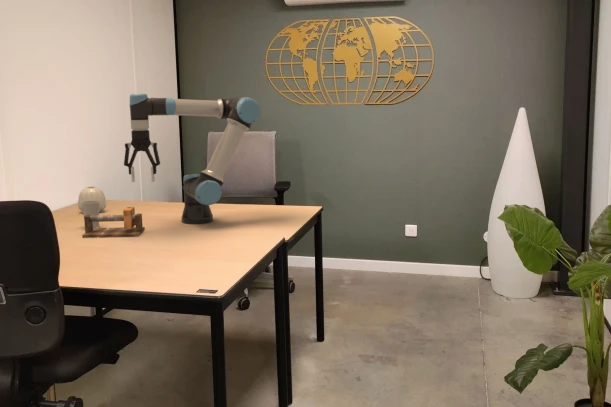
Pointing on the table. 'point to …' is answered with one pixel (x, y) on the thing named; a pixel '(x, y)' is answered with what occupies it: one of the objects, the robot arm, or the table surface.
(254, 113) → the robot arm
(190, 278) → the table surface
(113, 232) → the pipe stand
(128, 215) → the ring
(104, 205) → the vase
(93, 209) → the cup
